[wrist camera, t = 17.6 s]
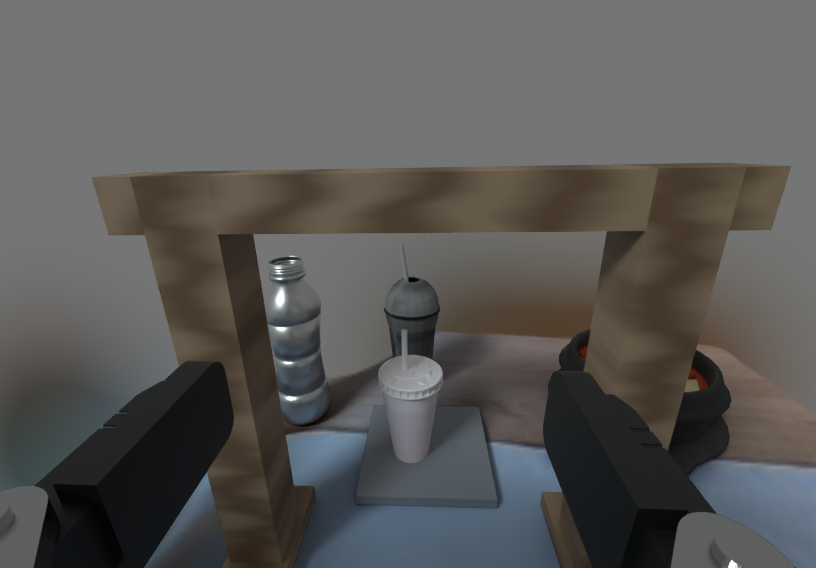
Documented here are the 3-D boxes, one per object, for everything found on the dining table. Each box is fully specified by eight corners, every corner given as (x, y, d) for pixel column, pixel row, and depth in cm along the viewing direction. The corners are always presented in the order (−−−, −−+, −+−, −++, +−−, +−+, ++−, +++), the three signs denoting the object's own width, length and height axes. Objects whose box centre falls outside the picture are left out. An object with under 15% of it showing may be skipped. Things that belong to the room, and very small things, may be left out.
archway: (186, 619, 27) (34, 182, 16) (248, 496, 36) (177, 169, 26) (682, 641, 25) (861, 170, 15) (612, 506, 34) (691, 160, 24)
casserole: (577, 350, 61) (585, 302, 58) (725, 393, 50) (744, 337, 47) (512, 441, 42) (518, 377, 39) (723, 541, 31) (753, 463, 28)
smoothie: (390, 424, 44) (386, 314, 39) (445, 432, 42) (449, 319, 37) (372, 467, 38) (366, 344, 33) (436, 479, 36) (438, 352, 31)
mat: (355, 504, 35) (355, 496, 35) (373, 411, 47) (373, 405, 47) (497, 508, 34) (497, 499, 34) (478, 413, 47) (478, 406, 46)
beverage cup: (443, 397, 50) (445, 250, 43) (388, 401, 49) (381, 253, 42) (434, 367, 56) (435, 236, 50) (386, 370, 56) (380, 238, 49)
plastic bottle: (266, 426, 45) (237, 267, 38) (299, 393, 51) (279, 250, 44) (313, 438, 43) (291, 272, 36) (341, 402, 49) (327, 254, 42)
